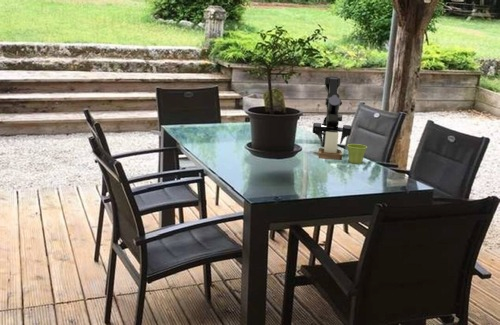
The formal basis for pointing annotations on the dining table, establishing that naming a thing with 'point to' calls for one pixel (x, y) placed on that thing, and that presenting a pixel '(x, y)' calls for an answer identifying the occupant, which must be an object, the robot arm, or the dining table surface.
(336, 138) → the cream rectangular block
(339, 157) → the box
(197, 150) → the dining table surface
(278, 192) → the dining table surface
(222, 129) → the dining table surface
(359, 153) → the plant pot
